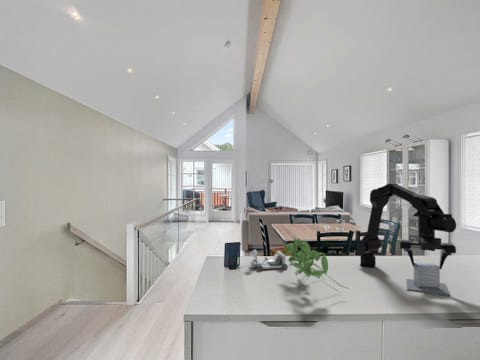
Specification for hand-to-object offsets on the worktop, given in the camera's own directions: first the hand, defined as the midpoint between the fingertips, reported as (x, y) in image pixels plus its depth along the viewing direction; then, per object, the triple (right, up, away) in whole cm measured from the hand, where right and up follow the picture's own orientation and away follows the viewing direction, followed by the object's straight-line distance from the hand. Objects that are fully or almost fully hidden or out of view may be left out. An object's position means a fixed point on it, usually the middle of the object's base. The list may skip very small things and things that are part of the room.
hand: (426, 267), depth 122 cm
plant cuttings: (-45, -8, +2) cm, 46 cm away
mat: (0, -8, 0) cm, 8 cm away
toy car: (-61, -9, +31) cm, 69 cm away
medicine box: (0, -8, 0) cm, 8 cm away
